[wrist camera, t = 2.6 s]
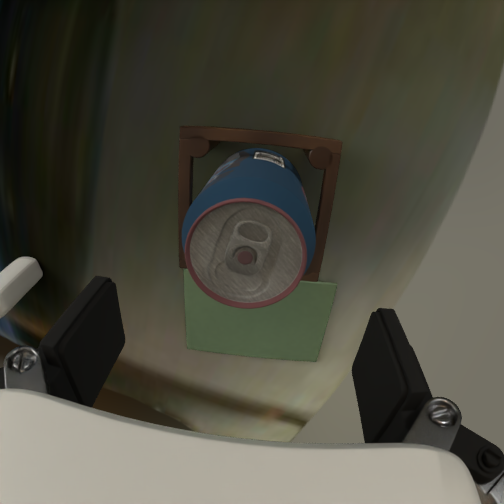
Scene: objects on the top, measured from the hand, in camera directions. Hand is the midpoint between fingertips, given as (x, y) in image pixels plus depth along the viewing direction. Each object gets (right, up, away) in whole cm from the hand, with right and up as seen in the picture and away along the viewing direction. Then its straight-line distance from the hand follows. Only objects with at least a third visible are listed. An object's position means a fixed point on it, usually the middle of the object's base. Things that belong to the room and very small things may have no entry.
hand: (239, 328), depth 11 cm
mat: (+1, -4, +20) cm, 21 cm away
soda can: (+1, +8, +15) cm, 17 cm away
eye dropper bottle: (-26, +1, +20) cm, 33 cm away
